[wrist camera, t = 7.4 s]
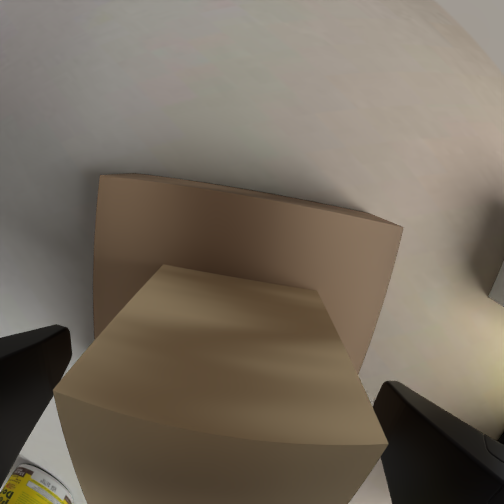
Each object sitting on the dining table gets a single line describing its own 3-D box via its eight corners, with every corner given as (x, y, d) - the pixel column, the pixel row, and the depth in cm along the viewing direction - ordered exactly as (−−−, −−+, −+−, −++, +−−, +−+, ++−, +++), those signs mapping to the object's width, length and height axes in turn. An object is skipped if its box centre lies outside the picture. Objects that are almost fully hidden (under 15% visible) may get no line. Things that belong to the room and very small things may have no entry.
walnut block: (370, 213, 12) (403, 227, 9) (314, 404, 14) (325, 449, 11) (135, 173, 11) (99, 175, 9) (124, 373, 14) (101, 412, 11)
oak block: (317, 290, 9) (388, 443, 4) (283, 407, 10) (299, 559, 5) (163, 264, 9) (52, 390, 3) (155, 386, 10) (98, 528, 4)
